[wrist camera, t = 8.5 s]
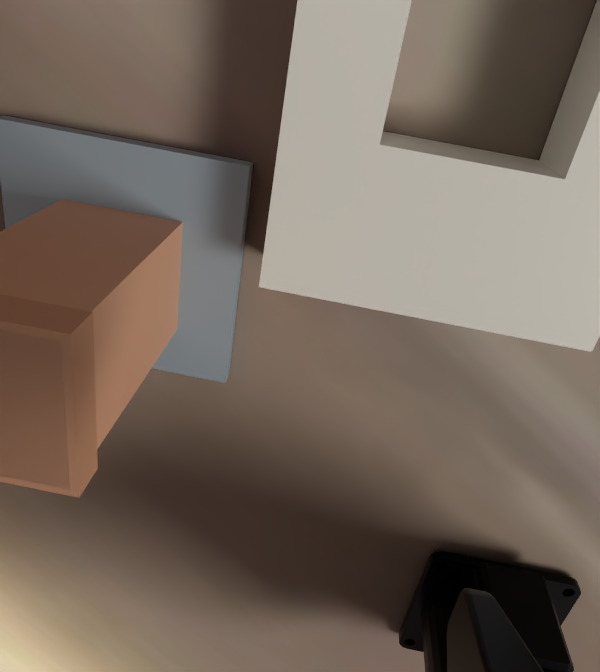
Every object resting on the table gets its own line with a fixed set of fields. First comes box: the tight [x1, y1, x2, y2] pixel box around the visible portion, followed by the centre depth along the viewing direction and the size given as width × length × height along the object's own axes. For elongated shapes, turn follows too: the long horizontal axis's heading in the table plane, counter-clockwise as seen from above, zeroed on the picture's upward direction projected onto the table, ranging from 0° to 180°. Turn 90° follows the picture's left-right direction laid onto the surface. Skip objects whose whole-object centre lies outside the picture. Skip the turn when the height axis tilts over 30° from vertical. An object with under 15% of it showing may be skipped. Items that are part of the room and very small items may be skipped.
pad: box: [0, 116, 253, 383], centre depth 19 cm, size 8×8×1 cm
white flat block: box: [259, 0, 600, 352], centre depth 14 cm, size 14×10×2 cm
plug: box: [0, 199, 183, 498], centre depth 15 cm, size 4×4×8 cm
